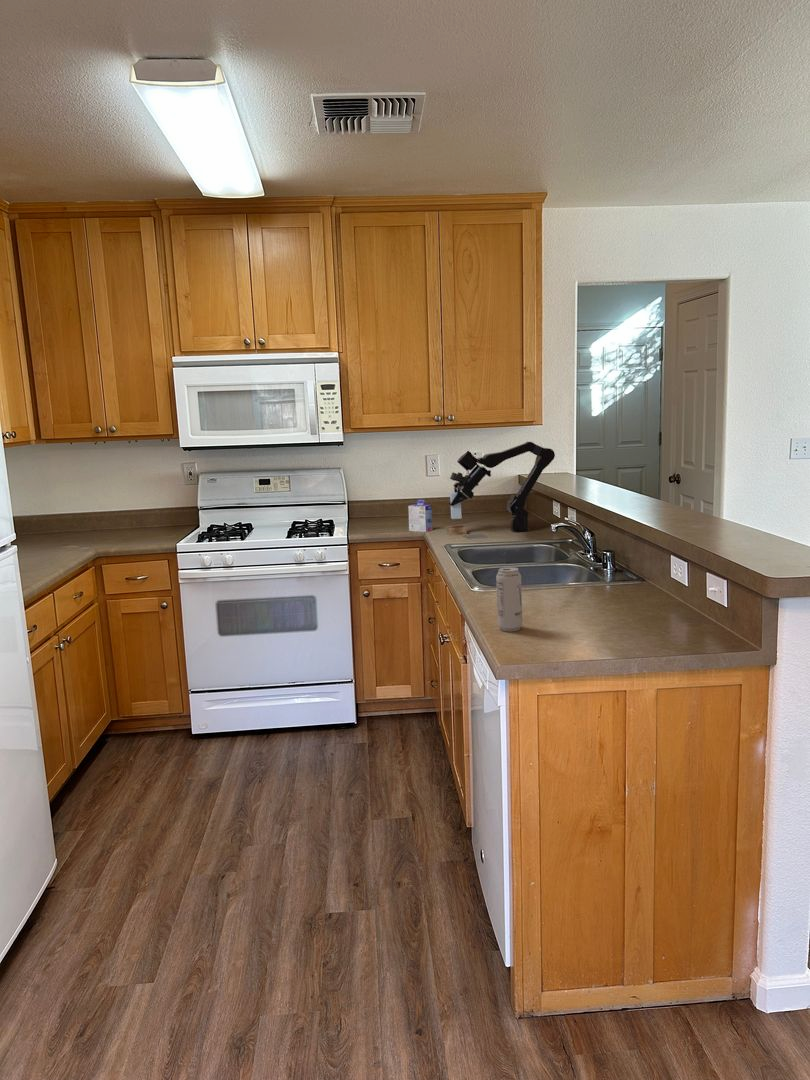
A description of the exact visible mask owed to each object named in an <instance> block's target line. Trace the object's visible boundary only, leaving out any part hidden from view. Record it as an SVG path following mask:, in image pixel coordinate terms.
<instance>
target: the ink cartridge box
mask: <svg viewBox="0 0 810 1080" xmlns="http://www.w3.org/2000/svg"><path fill="white" fill-rule="evenodd" d="M408 531H409V532H421V533H422V532H423V533H428V532H432V531H434V530H433V509H432V504H425V499H418V500H417V502H416V504H410V505H408Z"/></svg>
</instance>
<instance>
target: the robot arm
mask: <svg viewBox="0 0 810 1080" xmlns="http://www.w3.org/2000/svg"><path fill="white" fill-rule="evenodd" d="M528 452H529V453H531V454H533V455H535V456H536V457H535V460H534V465H533V467H532V468H531V470H530V472H529V474H528V475H527V477H526V479H525V480H524V481H523V484H522V485H521V486H520V488H519V490H518V492H517V493H516V494H510V496H509V499H508V500H507V501H506V503H507V504H506V509H507V511H508V512H509V513H511V514H510V515H511V520H510V531H511V532H512V531H513V533H514V532H515V533H519V532H521V533H522V532H529V531H530V529H529V526H528V525H529V523H528V522H529V520H528V518H529V517H528V516H529V512H528V511H527V510H526V509H525V506H526V502H527V498H528V497H529V494H530V493H531V491H532V489H533V487H534V486H535V484H536V482H537V481H538V480H539V477H540V476H541V474H542V472H543V471H544V470H545V469H546V468H547V467H548V466H549V465H550V464H552V462H553V460H554V459H555V457H556V453H555V451H554V450H553V448H548V447H542V446H540V445H538V444H536V443H534V442H533V441H526V442H525V443H522V444H519V445H516V446H514V447H511V448H508V449H506V450H502V451H498V452H492V453H486V454H484V455H483V456H482V457H478V458H476V457H475V456H474V455H473V454H472V452H471V451H469V450H467V451H466V452H465V453H464V454H462V455H461V456H460V457H459V458H458V459H457V463H458V465H460V466H461V467H462V468H463V469H464V470H465V471H470V472H469V474H465V476H463V473H461V472H457V473H455V472H452V473H451V475H450V477H449V479H450V480H451V481H453V482H455V483H454V484H453V490H454V491H453V493H456V492H457V495H456V496H455V498H454V499H453V501H452V502H451V503H450V501H449V502H448V504H449V506H450V507H451V506H454V505H456V504H458V503H460V502H461V503H462V502H464V501H466V500H468V499H470V500H471V499H472V498H473V497H474V492H473V490H474V489H475V488H476V487H478V486H479V483H480V482H481V481H482V480H483V479H484V478H485V477H486V476H487V477H491V476H492V473H491V472H492V471H491V470H490V469H493V468H495V467H497V466H499V465H501V463H503V462H505V461H506V460H510V459H513V458H514V457H517V456H520V455H523V454H526V453H528ZM487 468H489V470H488V469H487Z"/></svg>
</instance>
